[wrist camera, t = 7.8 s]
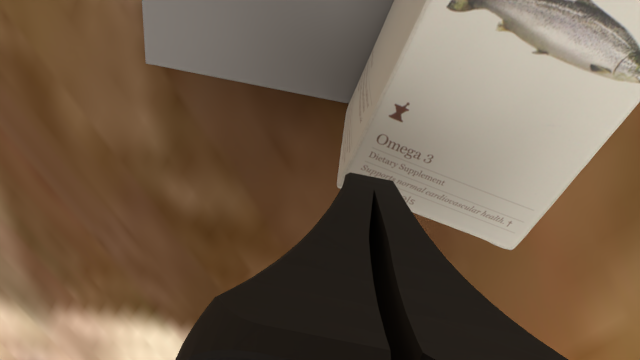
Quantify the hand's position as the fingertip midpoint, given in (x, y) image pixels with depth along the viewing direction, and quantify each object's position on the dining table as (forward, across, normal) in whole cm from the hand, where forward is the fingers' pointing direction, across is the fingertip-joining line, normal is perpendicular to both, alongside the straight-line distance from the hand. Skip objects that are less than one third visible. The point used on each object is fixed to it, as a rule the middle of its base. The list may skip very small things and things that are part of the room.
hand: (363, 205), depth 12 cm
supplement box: (+6, -3, +2) cm, 7 cm away
